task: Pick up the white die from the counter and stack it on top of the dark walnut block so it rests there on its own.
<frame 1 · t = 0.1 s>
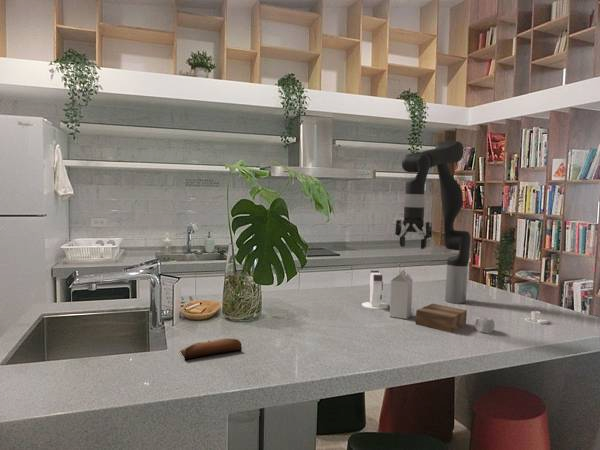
hand: (412, 247, 174), 29 cm above the counter, tool pointing down, fingers open, 8 cm apart
milk carton: (400, 316, 184), on the counter
walnut block: (440, 325, 173), on the counter
teacup and saucer: (533, 323, 179), on the counter
sunglasses case: (210, 353, 140), on the counter
die: (484, 331, 166), on the counter
white device on stand: (374, 306, 199), on the counter
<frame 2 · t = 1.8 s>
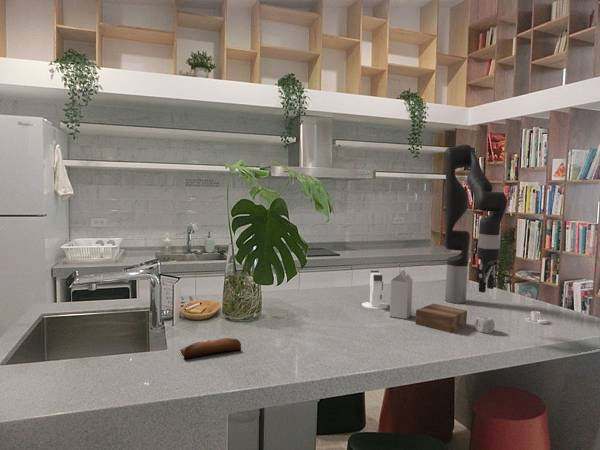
hand: (486, 290, 165), 15 cm above the counter, tool pointing down, fingers open, 8 cm apart
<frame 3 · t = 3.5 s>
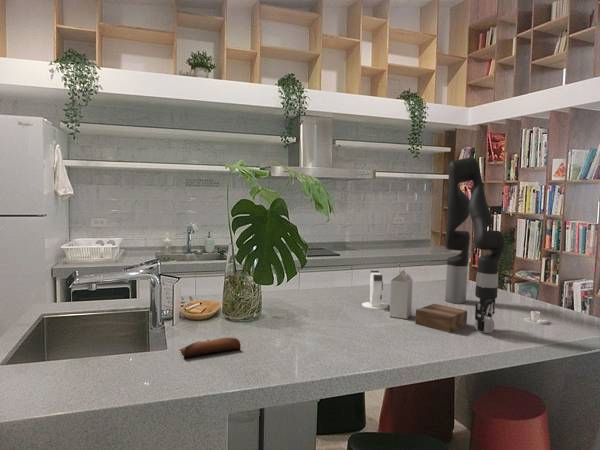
hand: (484, 328, 166), 1 cm above the counter, tool pointing down, fingers closed on die, 7 cm apart
die: (484, 331, 166), on the counter, touching gripper
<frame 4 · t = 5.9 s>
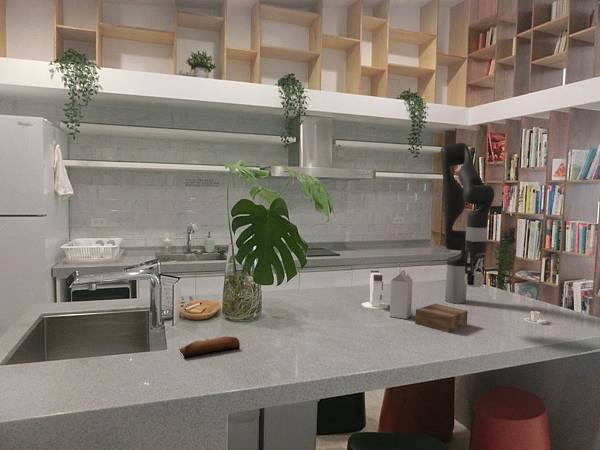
hand: (474, 283, 167), 17 cm above the counter, tool pointing down, fingers closed on die, 7 cm apart
die: (474, 286, 167), point 16 cm above the counter, touching gripper
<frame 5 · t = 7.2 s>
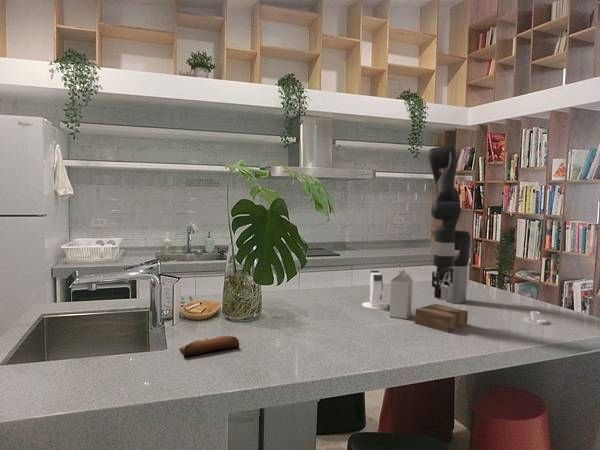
hand: (441, 296, 172), 11 cm above the counter, tool pointing down, fingers closed on die, 7 cm apart
die: (441, 299, 172), point 10 cm above the counter, touching gripper
when the fingers open (8 cm above the counter, at t = 8.4 s): die drops 2 cm, resting on walnut block.
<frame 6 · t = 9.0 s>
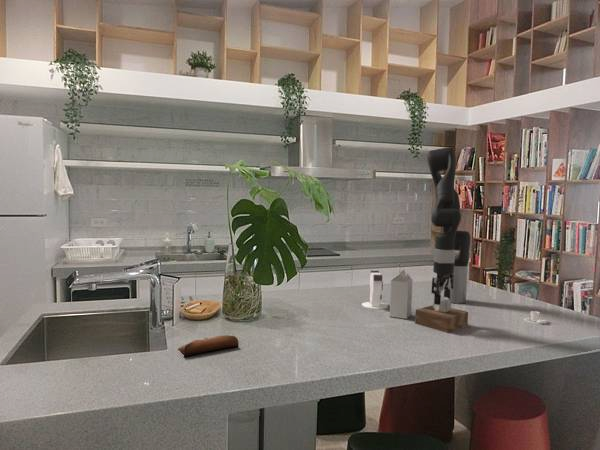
hand: (442, 302, 172), 9 cm above the counter, tool pointing down, fingers open, 8 cm apart
walnut block: (441, 326, 173), on the counter, touching die
die: (441, 311, 173), point 5 cm above the counter, touching walnut block
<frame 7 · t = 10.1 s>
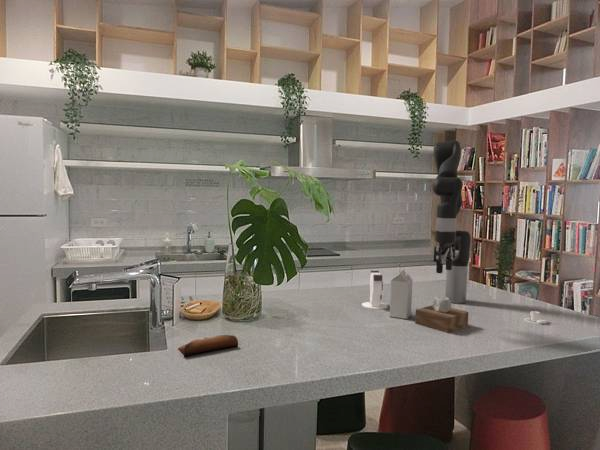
hand: (444, 271, 173), 20 cm above the counter, tool pointing down, fingers open, 8 cm apart
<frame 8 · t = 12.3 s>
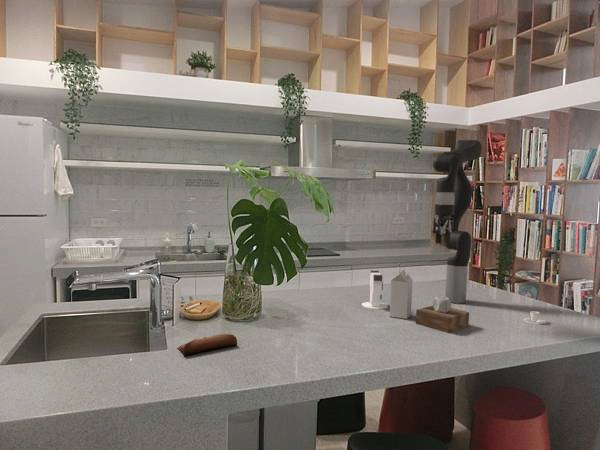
hand: (442, 242, 186), 30 cm above the counter, tool pointing down, fingers open, 8 cm apart
at the end: die inside the target area on the walnut block (0.3 cm from its centre), point 5.8 cm above the walnut block's base; die touching walnut block; the gripper is holding nothing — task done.
